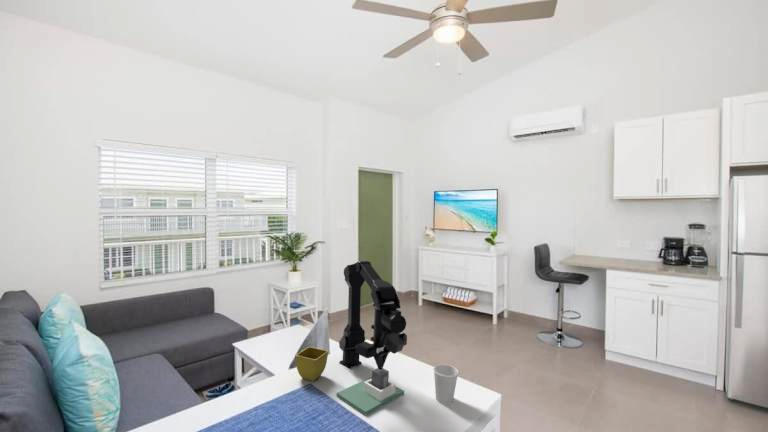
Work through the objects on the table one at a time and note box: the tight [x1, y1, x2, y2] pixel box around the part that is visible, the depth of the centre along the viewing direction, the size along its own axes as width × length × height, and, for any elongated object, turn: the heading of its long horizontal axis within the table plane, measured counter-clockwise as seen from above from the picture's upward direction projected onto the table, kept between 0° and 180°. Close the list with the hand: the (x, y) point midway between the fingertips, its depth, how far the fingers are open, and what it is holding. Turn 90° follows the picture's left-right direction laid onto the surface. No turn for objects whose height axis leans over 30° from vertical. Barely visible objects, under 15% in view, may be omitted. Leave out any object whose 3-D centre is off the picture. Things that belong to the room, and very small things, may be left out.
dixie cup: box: [433, 363, 460, 405], centre depth 115 cm, size 8×8×10 cm
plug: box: [371, 367, 390, 390], centre depth 115 cm, size 4×4×7 cm
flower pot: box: [295, 346, 329, 382], centre depth 126 cm, size 9×9×9 cm
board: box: [336, 376, 405, 416], centre depth 115 cm, size 14×18×4 cm
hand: (380, 369), depth 115 cm, fingers closed
